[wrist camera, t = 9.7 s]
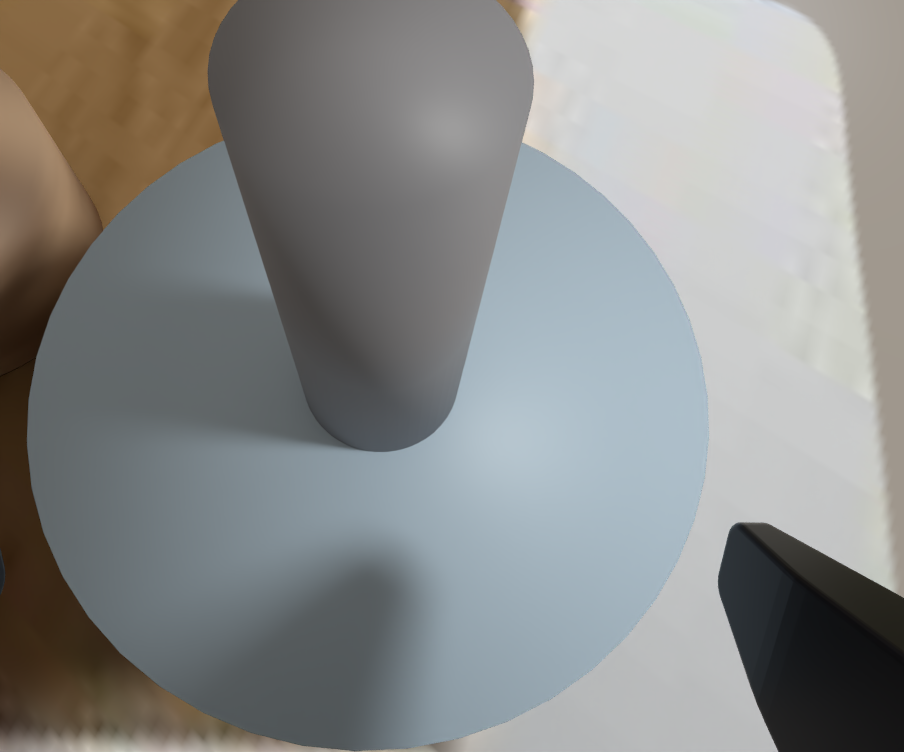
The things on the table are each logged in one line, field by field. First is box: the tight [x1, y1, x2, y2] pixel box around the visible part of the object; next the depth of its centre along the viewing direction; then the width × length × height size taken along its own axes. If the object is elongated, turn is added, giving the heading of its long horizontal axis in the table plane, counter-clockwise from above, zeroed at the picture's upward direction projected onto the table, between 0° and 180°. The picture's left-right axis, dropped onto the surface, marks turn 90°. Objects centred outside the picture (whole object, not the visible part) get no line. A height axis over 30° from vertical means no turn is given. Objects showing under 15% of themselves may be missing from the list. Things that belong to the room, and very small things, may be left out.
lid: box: [27, 0, 709, 751], centre depth 11 cm, size 13×13×9 cm
